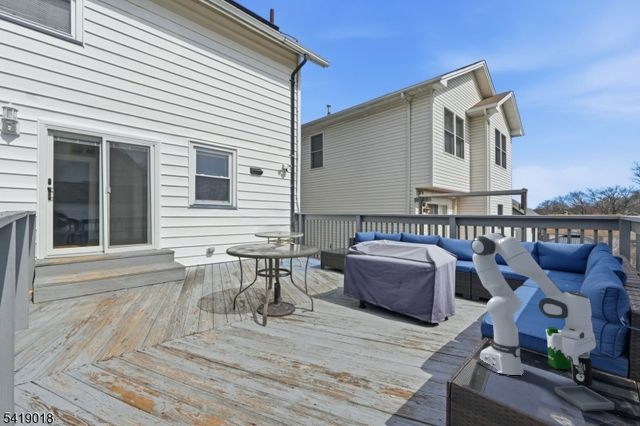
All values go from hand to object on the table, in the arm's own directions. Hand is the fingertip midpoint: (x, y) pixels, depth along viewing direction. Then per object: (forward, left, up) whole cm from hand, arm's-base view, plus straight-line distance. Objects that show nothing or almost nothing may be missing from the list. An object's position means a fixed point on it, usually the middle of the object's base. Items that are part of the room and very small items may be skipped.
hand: (581, 362), depth 129 cm
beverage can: (0, 0, -9) cm, 9 cm away
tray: (0, 0, -16) cm, 16 cm away
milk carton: (-21, +28, -16) cm, 39 cm away
